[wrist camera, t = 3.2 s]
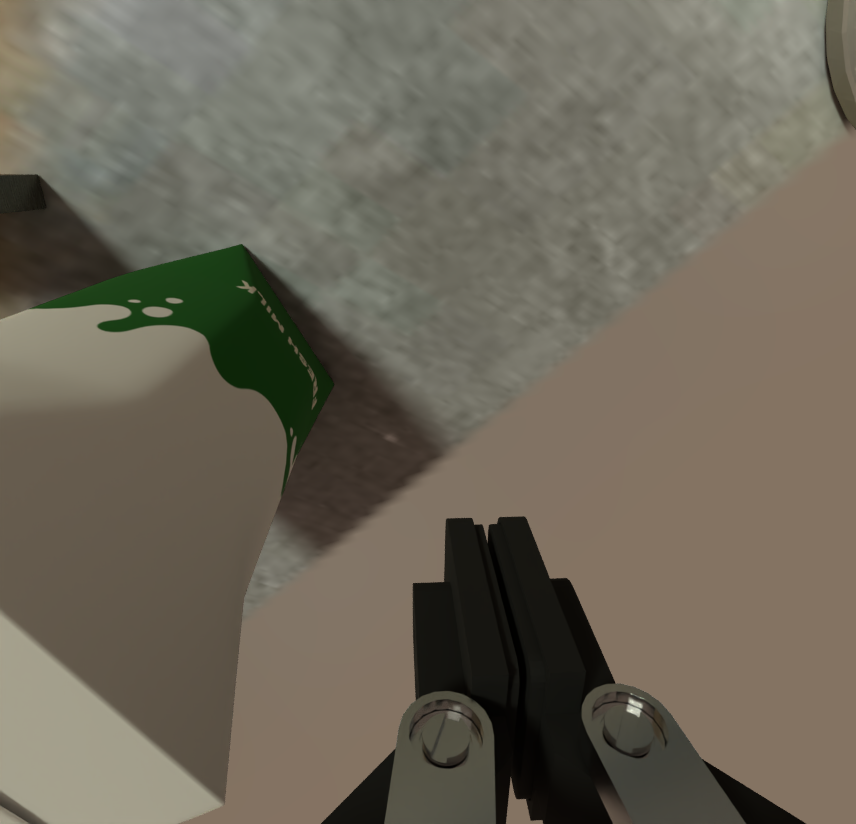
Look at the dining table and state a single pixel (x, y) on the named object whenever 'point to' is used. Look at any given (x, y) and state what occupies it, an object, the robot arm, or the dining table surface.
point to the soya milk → (138, 531)
